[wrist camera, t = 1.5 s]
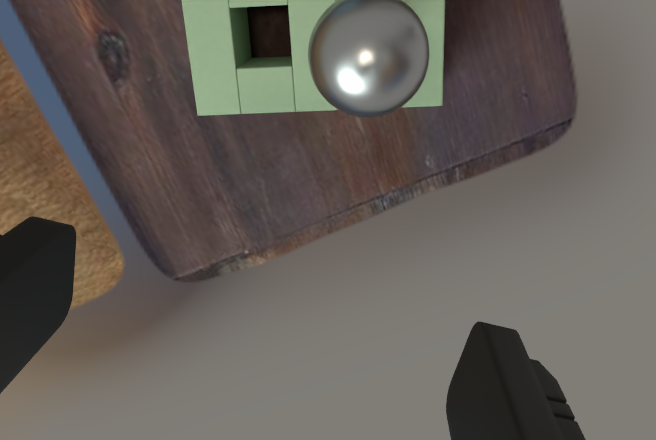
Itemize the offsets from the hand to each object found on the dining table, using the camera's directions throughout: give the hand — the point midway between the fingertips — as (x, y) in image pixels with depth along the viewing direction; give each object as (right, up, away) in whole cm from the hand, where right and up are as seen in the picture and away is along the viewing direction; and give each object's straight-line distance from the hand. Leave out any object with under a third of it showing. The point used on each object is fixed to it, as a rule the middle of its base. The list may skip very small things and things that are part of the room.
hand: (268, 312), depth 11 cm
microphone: (+4, +14, +24) cm, 28 cm away
